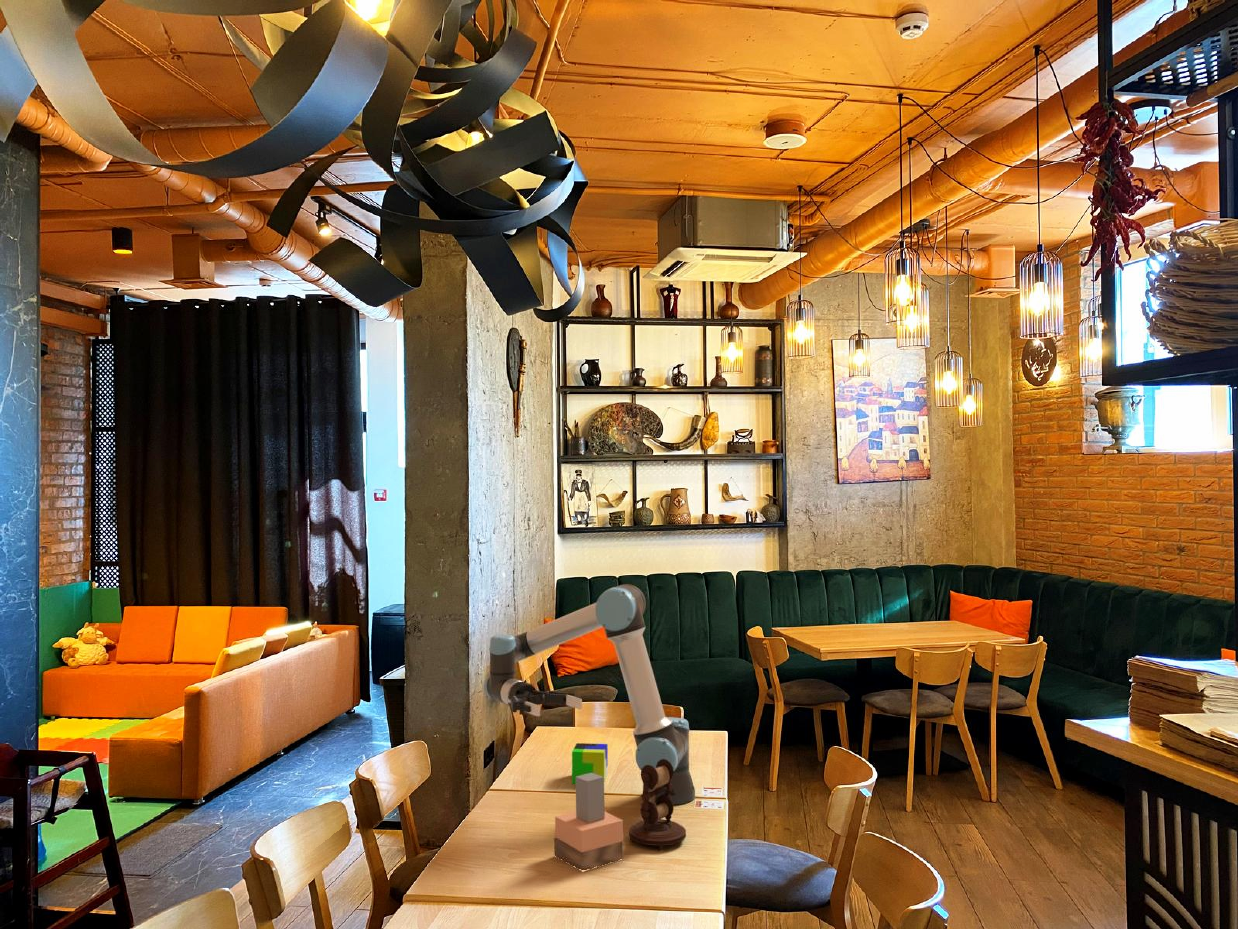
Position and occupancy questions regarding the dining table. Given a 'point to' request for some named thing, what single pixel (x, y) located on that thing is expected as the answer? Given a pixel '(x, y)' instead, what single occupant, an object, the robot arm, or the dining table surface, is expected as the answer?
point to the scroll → (657, 809)
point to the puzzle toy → (589, 760)
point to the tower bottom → (588, 855)
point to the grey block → (590, 797)
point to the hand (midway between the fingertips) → (560, 707)
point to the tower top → (588, 831)
